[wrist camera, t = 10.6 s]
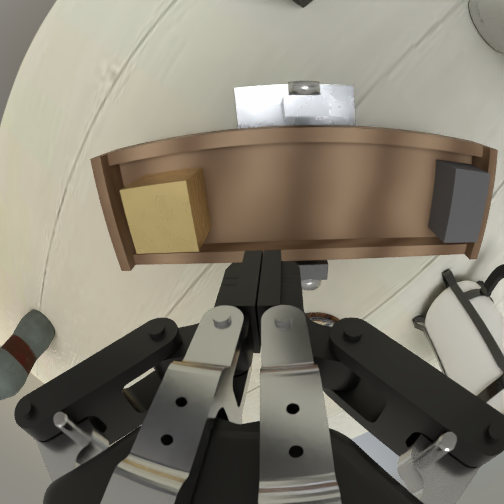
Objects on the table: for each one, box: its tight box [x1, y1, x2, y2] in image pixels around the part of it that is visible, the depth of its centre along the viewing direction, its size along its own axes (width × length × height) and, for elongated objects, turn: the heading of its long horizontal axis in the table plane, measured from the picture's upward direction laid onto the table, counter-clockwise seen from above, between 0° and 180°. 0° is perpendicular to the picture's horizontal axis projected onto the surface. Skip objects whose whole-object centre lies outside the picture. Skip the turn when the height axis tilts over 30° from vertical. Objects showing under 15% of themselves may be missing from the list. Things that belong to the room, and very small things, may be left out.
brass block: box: [120, 167, 211, 254], centre depth 19 cm, size 5×5×4 cm
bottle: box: [0, 310, 55, 400], centre depth 36 cm, size 9×9×30 cm
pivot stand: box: [234, 81, 355, 290], centre depth 24 cm, size 12×18×11 cm, turn 5°
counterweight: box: [428, 159, 490, 243], centre depth 17 cm, size 4×6×3 cm, turn 5°
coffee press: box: [413, 264, 504, 415], centre depth 22 cm, size 17×16×30 cm
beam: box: [90, 125, 498, 271], centre depth 19 cm, size 32×10×4 cm, turn 95°
